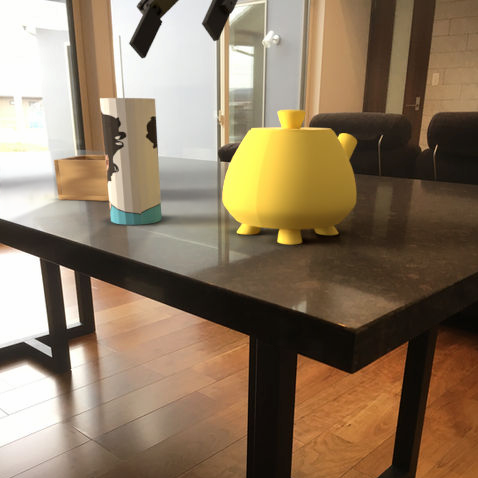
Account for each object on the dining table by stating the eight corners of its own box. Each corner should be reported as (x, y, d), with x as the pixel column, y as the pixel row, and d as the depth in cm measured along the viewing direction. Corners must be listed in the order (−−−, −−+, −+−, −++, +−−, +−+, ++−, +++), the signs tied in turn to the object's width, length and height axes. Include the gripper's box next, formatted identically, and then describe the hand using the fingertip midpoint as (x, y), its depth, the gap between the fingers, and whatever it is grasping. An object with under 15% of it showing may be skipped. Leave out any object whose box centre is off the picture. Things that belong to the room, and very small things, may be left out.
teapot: (303, 211, 76) (308, 109, 70) (398, 227, 65) (412, 109, 60) (196, 231, 63) (192, 109, 58) (293, 255, 52) (299, 109, 47)
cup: (162, 214, 73) (156, 99, 68) (160, 224, 67) (153, 98, 61) (114, 215, 73) (103, 99, 67) (107, 225, 66) (95, 97, 61)
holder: (58, 199, 86) (53, 159, 83) (86, 190, 96) (82, 154, 93) (121, 201, 84) (118, 160, 82) (143, 191, 94) (140, 155, 92)
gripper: (314, -80, 69) (261, 47, 64) (179, -30, 84) (128, 76, 79) (289, -140, 63) (229, -5, 58) (149, -75, 78) (92, 36, 73)
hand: (171, 42), depth 68 cm, fingers open, 13 cm apart
